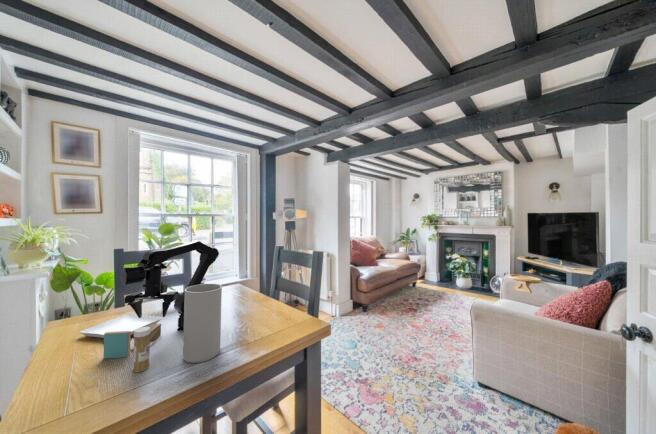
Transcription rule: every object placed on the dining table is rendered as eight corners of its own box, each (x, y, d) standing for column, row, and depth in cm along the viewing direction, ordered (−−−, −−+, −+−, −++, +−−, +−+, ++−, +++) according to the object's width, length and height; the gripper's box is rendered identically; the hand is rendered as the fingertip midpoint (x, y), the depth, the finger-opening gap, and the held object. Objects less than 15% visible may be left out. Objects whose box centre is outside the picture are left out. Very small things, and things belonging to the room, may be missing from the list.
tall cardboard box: (163, 334, 108) (164, 323, 108) (146, 350, 95) (147, 337, 95) (148, 335, 107) (149, 324, 107) (129, 351, 94) (130, 338, 94)
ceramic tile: (130, 355, 91) (130, 330, 92) (127, 357, 90) (128, 332, 90) (105, 356, 90) (106, 332, 90) (102, 359, 89) (103, 333, 89)
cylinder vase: (195, 345, 99) (196, 283, 100) (225, 346, 99) (227, 284, 99) (174, 363, 87) (177, 292, 87) (209, 364, 86) (211, 292, 87)
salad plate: (118, 345, 99) (118, 336, 100) (77, 339, 104) (78, 331, 104) (163, 324, 120) (163, 317, 120) (127, 319, 124) (128, 313, 125)
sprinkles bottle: (145, 372, 82) (146, 331, 82) (129, 373, 80) (130, 332, 81) (152, 364, 86) (153, 325, 86) (137, 365, 85) (138, 326, 85)
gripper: (184, 275, 114) (184, 309, 113) (140, 276, 111) (139, 311, 111) (173, 281, 103) (172, 319, 102) (123, 282, 100) (122, 321, 100)
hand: (152, 317), depth 104 cm, fingers open, 9 cm apart
